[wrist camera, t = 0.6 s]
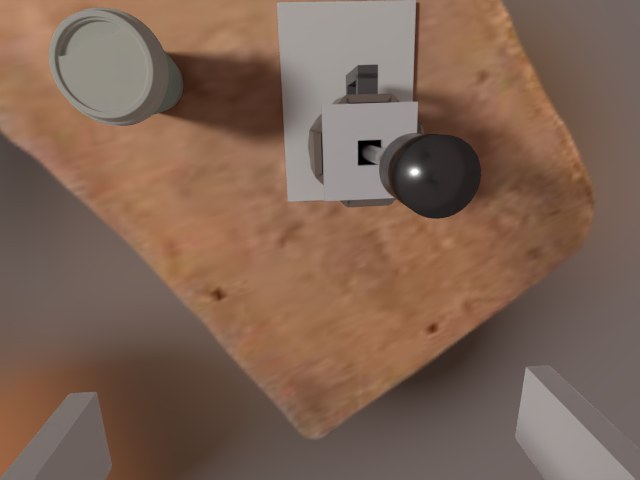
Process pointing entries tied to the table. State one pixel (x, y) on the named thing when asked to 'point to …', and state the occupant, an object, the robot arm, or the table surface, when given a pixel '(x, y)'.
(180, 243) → the table surface
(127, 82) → the coffee cup
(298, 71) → the mat
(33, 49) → the table surface
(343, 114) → the grey french press
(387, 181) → the plunger
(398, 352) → the table surface
